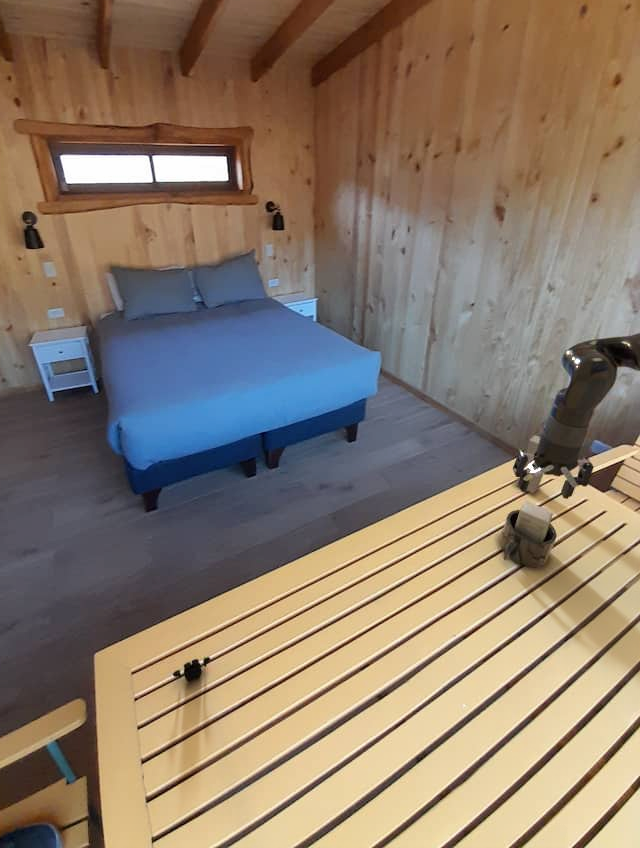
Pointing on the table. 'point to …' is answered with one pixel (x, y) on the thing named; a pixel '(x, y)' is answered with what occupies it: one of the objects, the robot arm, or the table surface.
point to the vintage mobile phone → (536, 481)
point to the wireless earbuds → (192, 669)
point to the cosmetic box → (533, 522)
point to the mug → (525, 544)
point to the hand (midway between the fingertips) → (543, 493)
